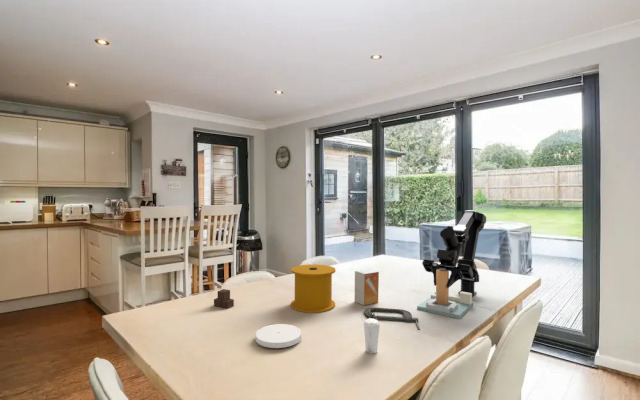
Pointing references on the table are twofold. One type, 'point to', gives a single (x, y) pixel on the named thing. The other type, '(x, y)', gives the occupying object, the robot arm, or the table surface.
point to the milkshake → (371, 335)
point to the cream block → (462, 298)
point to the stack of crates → (224, 299)
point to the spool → (313, 288)
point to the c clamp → (406, 316)
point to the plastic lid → (278, 336)
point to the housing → (445, 307)
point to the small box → (366, 286)
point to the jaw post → (442, 286)
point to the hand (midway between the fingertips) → (440, 286)
